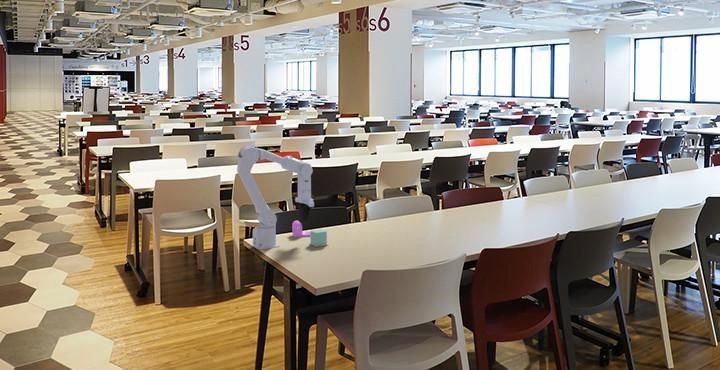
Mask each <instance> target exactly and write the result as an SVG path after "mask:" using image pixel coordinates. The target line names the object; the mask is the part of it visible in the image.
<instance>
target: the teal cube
mask: <svg viewBox="0 0 720 370" xmlns="http://www.w3.org/2000/svg"><path fill="white" fill-rule="evenodd" d="M309 232H310V236H309V237H310V244H311V245H313V246H316V248H319V247H318V246H323V247H326V246H325V245H328V244H327V243H328V240H327V237H328V235H327V234H328V232H327V231H326V230H323V229H314V230H313V229H311V230H309ZM311 245H310V246H311ZM313 246H312V247H313Z"/></svg>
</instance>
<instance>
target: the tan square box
mask: <svg viewBox="0 0 720 370" xmlns="http://www.w3.org/2000/svg"><path fill="white" fill-rule="evenodd" d="M308 245H309V246H311V247H314V248H321V247H322V248H323V247H329V244H327V245H325V246H318V247H316V246H313V245H311V243H308Z"/></svg>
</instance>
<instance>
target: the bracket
mask: <svg viewBox="0 0 720 370" xmlns="http://www.w3.org/2000/svg"><path fill="white" fill-rule="evenodd" d="M291 225H292V229H291V230H292V233H291V234H293V235H292V236H293V238H305V237H306V236H308V237H310V231H303V224H302V223H301V222H300V221H299V220H294V221H293V222H292V224H291Z"/></svg>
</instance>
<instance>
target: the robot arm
mask: <svg viewBox="0 0 720 370" xmlns="http://www.w3.org/2000/svg"><path fill="white" fill-rule="evenodd" d="M237 153H238V154H237V166H236V167H237V168H236V173H237V174H238V176H239V178H240V180H241V183H242V184H243V186H244V188H245V190H246V192H247V194H248V196H249V198H250V200H251V202H252V204H253V206H254V209H255V210H254V211H255V212H256V219H257V221H258V222H259V223H258V226H257V227H254V228H253V229H252V245H251V246H252V247H253V248H256V249H257V250H259V251H260V250H266V249H267V250H268V249H274V248H280V245H279V244H277V239H276V237H277V233H276V230H277V229H276V228H277V227H276V224H277V222H278V219H277V218H278V217H277V215H276V214H275V213H274V212H272V211H271V208H270V207H269V206H268V204H267V202H266V200H265V198H264V196H263V194H262V191H261V190H260V187H258V183H257V182H256V180H255V178H254V176H253V174H252V173H251V171H252V169H253V167H254V165H255V164H256V163H257V162H258V160H259V161H262V160H267V161H270V162H273V163H275V164H278V165H279V164H280V166H281V168H282V169H284V170H286V171H289V172H292V173H295V174H297V197H295V200H294V202H295V203H299V204H296V207H297V209H298V212H299V214H300V217H301V218H300V219H301V220H302V221H303V222H306V221H308V220H309V215H310V212H311V210H312V208H314V207H315V201H314V199H313V198H312V177H311V176H312V174H313V173H314V172H313V171H314V170H313V166H312V165H311V164H310V163H307V162H305V161H303V160H302V159H297V158H294V156H292V155H286V156H283V157H282V156H281V155H278V154H276V153H273V152H270V151H269V150H265V149H263V148H257V147H253V146H252V147H251V146H249V145H244V146H242V147H241V148H240V149H239V151H238V152H237Z"/></svg>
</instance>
